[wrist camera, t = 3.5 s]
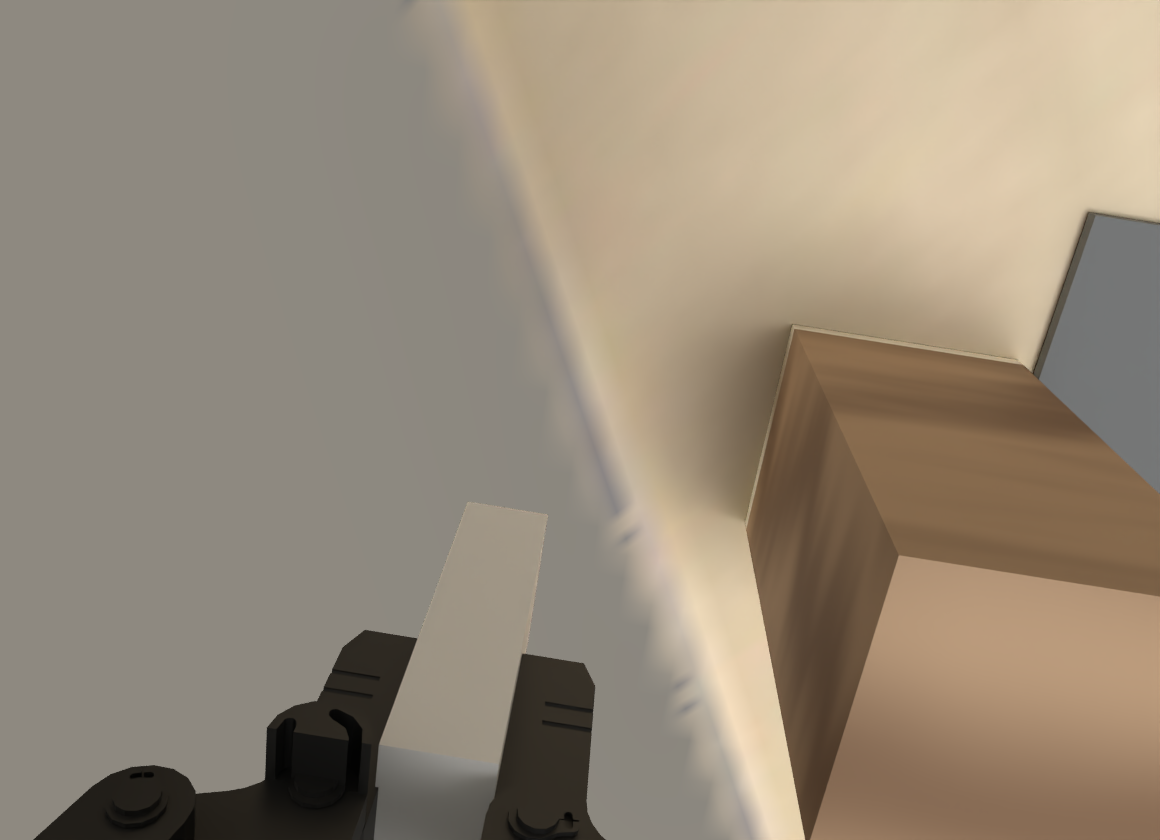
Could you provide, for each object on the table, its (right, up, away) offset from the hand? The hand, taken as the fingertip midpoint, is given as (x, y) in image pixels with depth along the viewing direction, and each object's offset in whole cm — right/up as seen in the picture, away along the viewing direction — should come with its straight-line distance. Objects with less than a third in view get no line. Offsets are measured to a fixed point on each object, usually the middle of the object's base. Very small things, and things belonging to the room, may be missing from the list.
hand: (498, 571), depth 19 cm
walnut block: (+10, +2, +9) cm, 13 cm away
